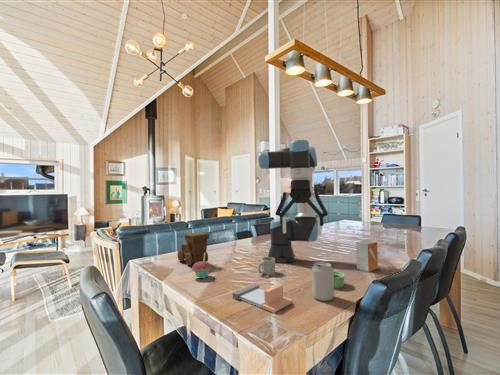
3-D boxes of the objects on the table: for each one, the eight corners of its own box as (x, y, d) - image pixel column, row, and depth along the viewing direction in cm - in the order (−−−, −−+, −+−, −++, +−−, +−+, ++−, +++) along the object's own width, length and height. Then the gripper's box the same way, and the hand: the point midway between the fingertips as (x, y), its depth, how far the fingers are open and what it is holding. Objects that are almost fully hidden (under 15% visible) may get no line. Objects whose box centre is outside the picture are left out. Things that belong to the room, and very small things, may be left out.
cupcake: (214, 275, 118) (213, 249, 118) (205, 281, 110) (205, 253, 110) (198, 273, 121) (197, 248, 121) (188, 279, 113) (188, 252, 113)
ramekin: (342, 291, 97) (341, 279, 97) (318, 286, 101) (318, 275, 102) (346, 283, 104) (346, 272, 104) (325, 279, 109) (324, 269, 109)
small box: (368, 272, 117) (367, 244, 118) (356, 268, 123) (355, 242, 123) (378, 268, 122) (377, 241, 122) (366, 265, 127) (365, 240, 127)
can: (309, 294, 94) (308, 261, 94) (329, 292, 95) (328, 260, 95) (316, 302, 87) (315, 267, 87) (337, 301, 87) (336, 266, 88)
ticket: (232, 298, 92) (232, 292, 92) (255, 288, 100) (254, 283, 100) (259, 309, 83) (259, 303, 83) (281, 297, 91) (281, 292, 91)
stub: (262, 308, 83) (261, 291, 83) (280, 298, 90) (280, 283, 90) (274, 312, 80) (273, 295, 80) (292, 302, 87) (292, 286, 87)
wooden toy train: (211, 264, 136) (210, 233, 136) (191, 268, 129) (191, 236, 129) (194, 257, 151) (193, 229, 152) (175, 260, 144) (175, 231, 144)
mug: (267, 269, 125) (267, 256, 125) (278, 272, 120) (277, 258, 120) (253, 274, 118) (253, 260, 118) (264, 277, 113) (263, 263, 113)
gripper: (267, 180, 101) (268, 233, 100) (332, 177, 91) (334, 236, 91) (272, 181, 108) (273, 231, 107) (334, 178, 98) (335, 233, 98)
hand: (301, 233), depth 99 cm, fingers open, 13 cm apart
